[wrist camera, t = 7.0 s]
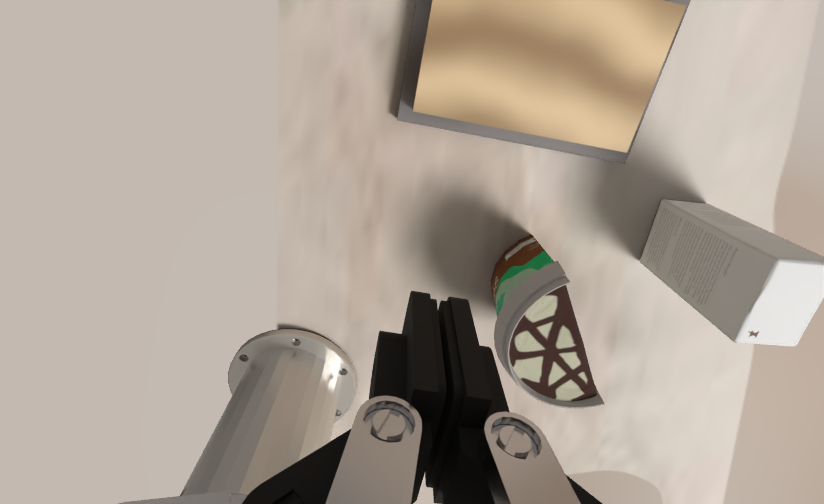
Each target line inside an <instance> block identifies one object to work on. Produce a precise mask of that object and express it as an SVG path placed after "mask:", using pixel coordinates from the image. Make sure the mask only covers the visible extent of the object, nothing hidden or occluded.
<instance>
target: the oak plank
mask: <svg viewBox="0 0 824 504" xmlns="http://www.w3.org/2000/svg"><path fill="white" fill-rule="evenodd" d="M686 6H687V5H682V4H678V3H673V2H669V1H665V0H432V3H431V9H430V14H429V20H428V26H427V31H426V37H425V42H424V48H423V54H422V59H421V65H420V71H419V76H418V82H417V88H416V93H415V99H414V105H413V111H414V112H419V113H424V114H429V115H434V116H439V117H445V118H450V119H455V120H460V121H465V122H470V123H476V124H481V125H486V126H491V127H496V128H501V129H507V130H512V131H517V132H522V133H527V134H532V135H538V136H543V137H548V138H553V139H558V140H563V141H569V142H574V143H579V144H584V145H589V146H594V147H600V148H605V149H610V150H615V151H620V152H625V153H627V152H628V149H629V147H630V144H631V142H632V139H633V137H634V134H635V132H636V130H637V127H638V125H639V122H640V120H641V117H642V115H643V112H644V110H645V107H646V105H647V102H648V100H649V97H650V95H651V93H652V90H653V88H654V85H655V83H656V80H657V78H658V75H659V73H660V70H661V68H662V65H663V63H664V61H665V58H666V56H667V53H668V51H669V48H670V46H671V43H672V41H673V38H674V36H675V33H676V31H677V28H678V26H679V24H680V21H681V19H682V16H683V14H684V11H685V9H686Z"/></svg>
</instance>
